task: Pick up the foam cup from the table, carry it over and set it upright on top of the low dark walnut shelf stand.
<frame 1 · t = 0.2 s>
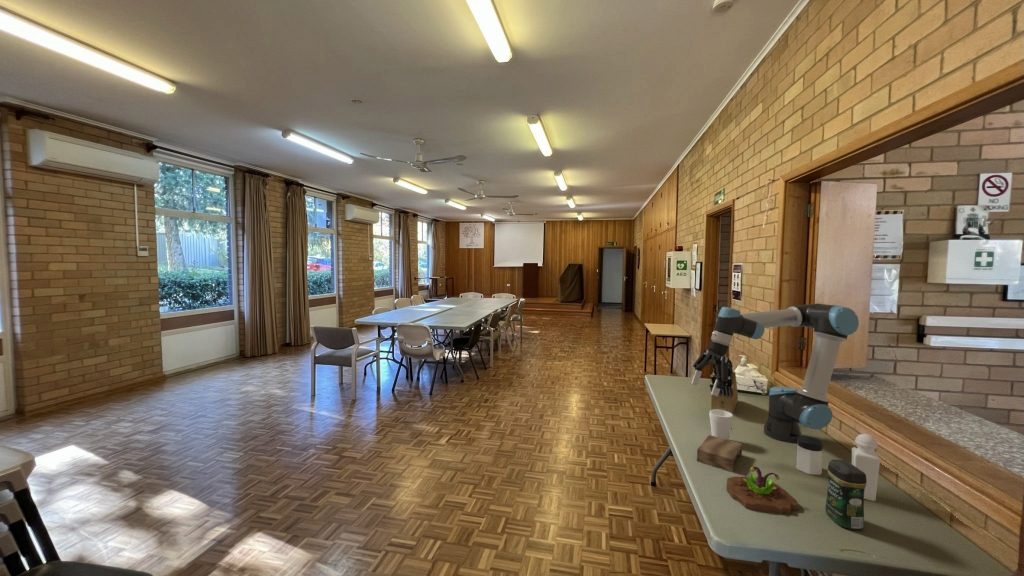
hand: (703, 389, 169), 27 cm above the table, tool tilted 15°, fingers open, 13 cm apart
walnut shelf stand: (719, 458, 165), on the table
foam cup: (719, 441, 182), on the table
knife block: (723, 408, 224), on the table
jar: (808, 470, 156), on the table
coffee jar: (843, 521, 125), on the table
plant: (758, 497, 138), on the table
soap dispenser: (863, 495, 139), on the table
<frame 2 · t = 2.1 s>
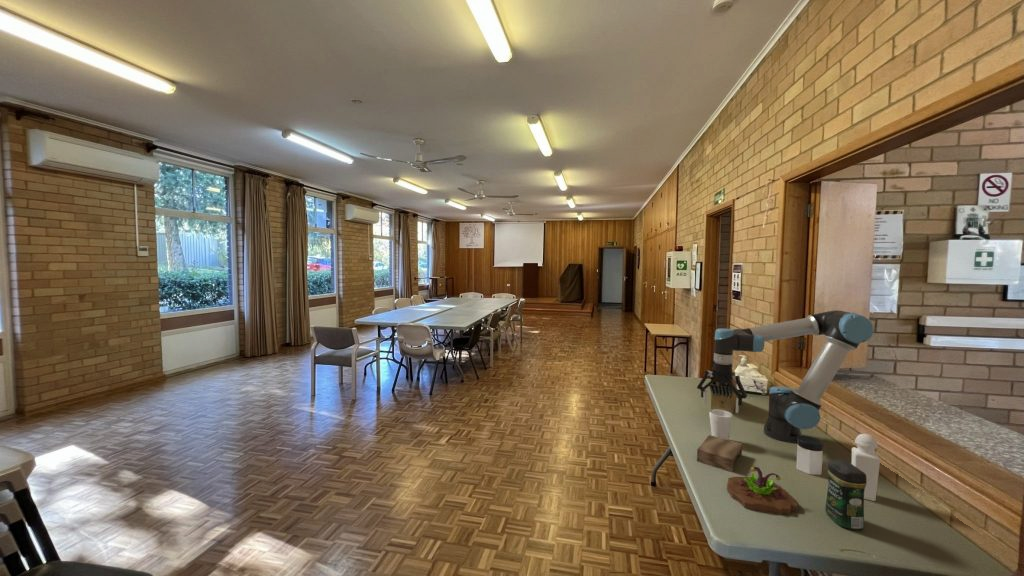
hand: (720, 408, 181), 15 cm above the table, tool pointing down, fingers open, 13 cm apart
nothing on the table moved.
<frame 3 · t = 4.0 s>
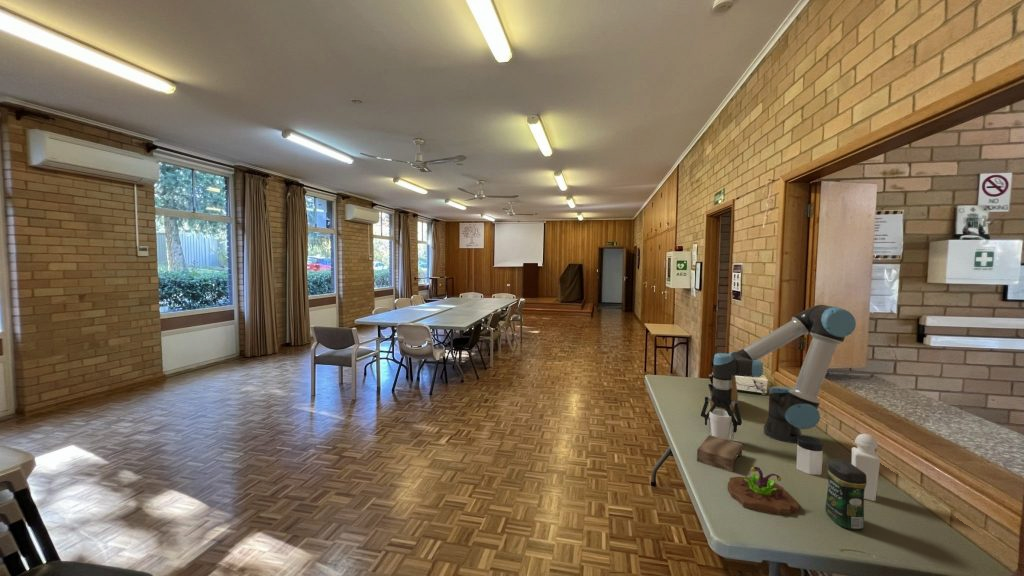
hand: (720, 435, 181), 3 cm above the table, tool pointing down, fingers closed on foam cup, 9 cm apart
foam cup: (719, 441, 182), on the table, touching gripper
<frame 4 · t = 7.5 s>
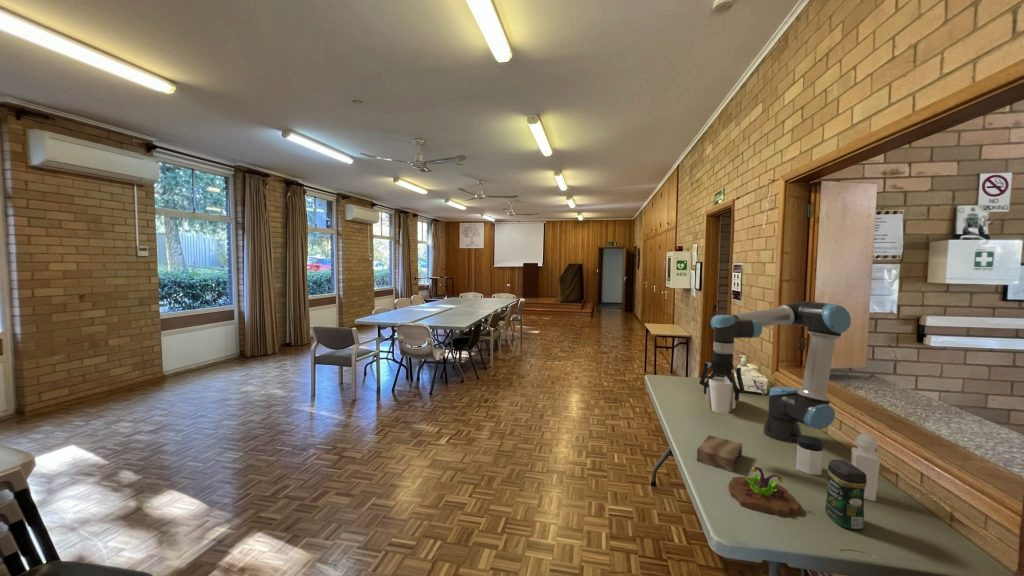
hand: (720, 404, 166), 22 cm above the table, tool pointing down, fingers closed on foam cup, 9 cm apart
foam cup: (720, 411, 166), point 19 cm above the table, touching gripper
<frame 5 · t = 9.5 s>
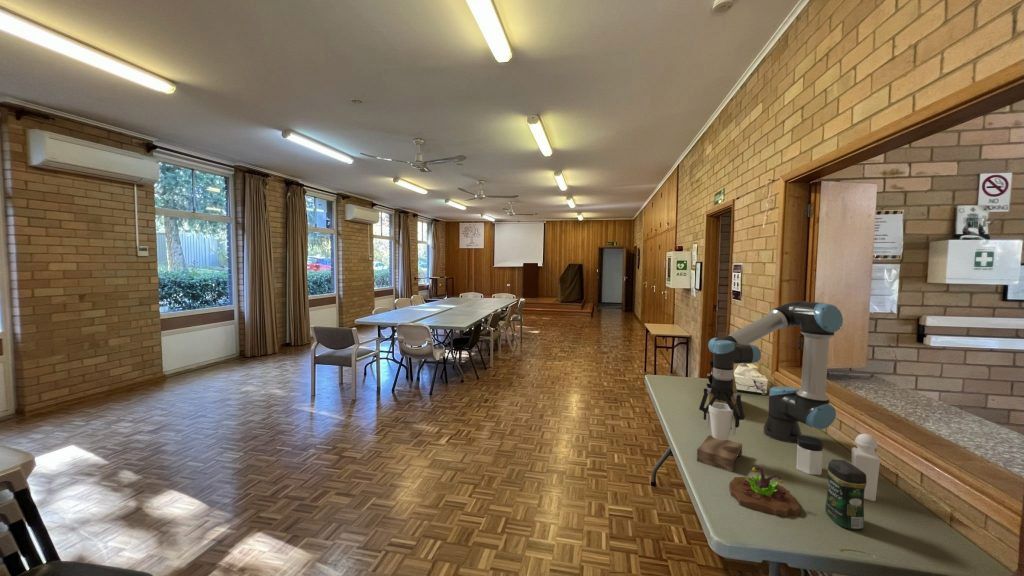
hand: (720, 430, 165), 12 cm above the table, tool pointing down, fingers closed on foam cup, 9 cm apart
foam cup: (720, 437, 165), point 9 cm above the table, touching gripper
when the fingers open (9 cm above the table, at t = 11.0 s): foam cup drops 1 cm, resting on walnut shelf stand.
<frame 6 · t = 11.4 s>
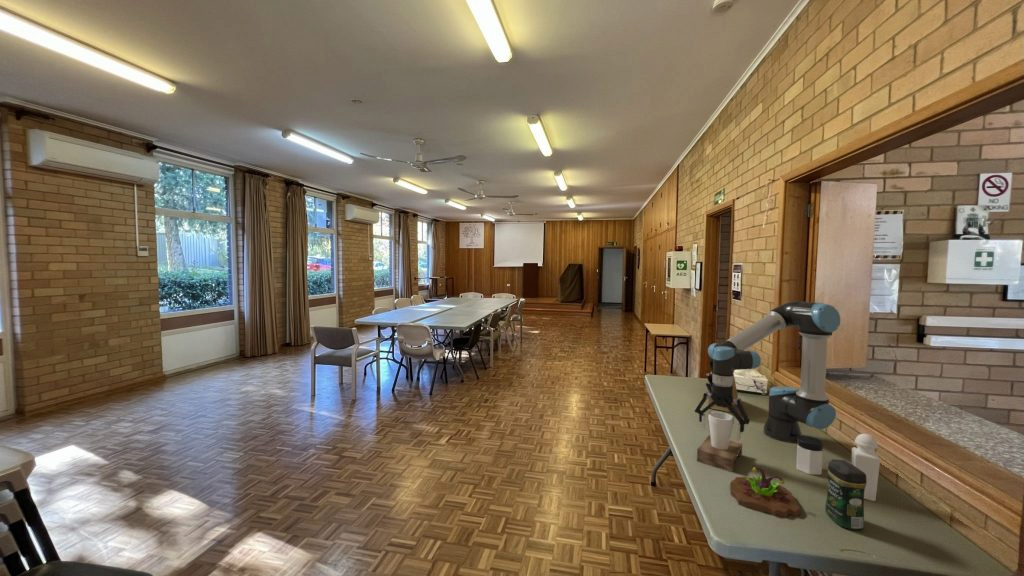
hand: (720, 434, 165), 10 cm above the table, tool pointing down, fingers open, 13 cm apart
foam cup: (719, 446, 165), point 5 cm above the table, touching walnut shelf stand
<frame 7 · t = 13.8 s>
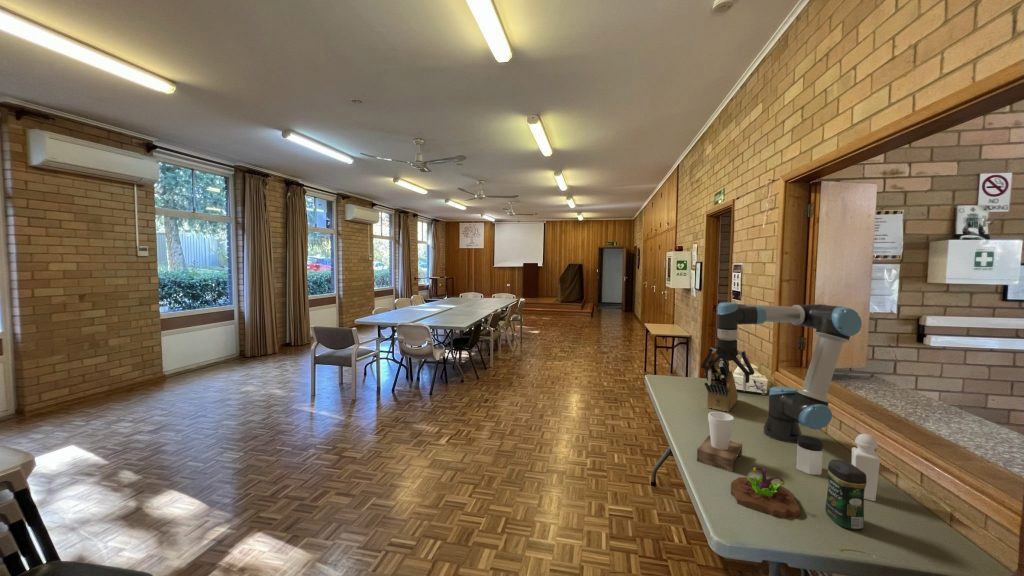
hand: (726, 387, 170), 28 cm above the table, tool pointing down, fingers open, 13 cm apart
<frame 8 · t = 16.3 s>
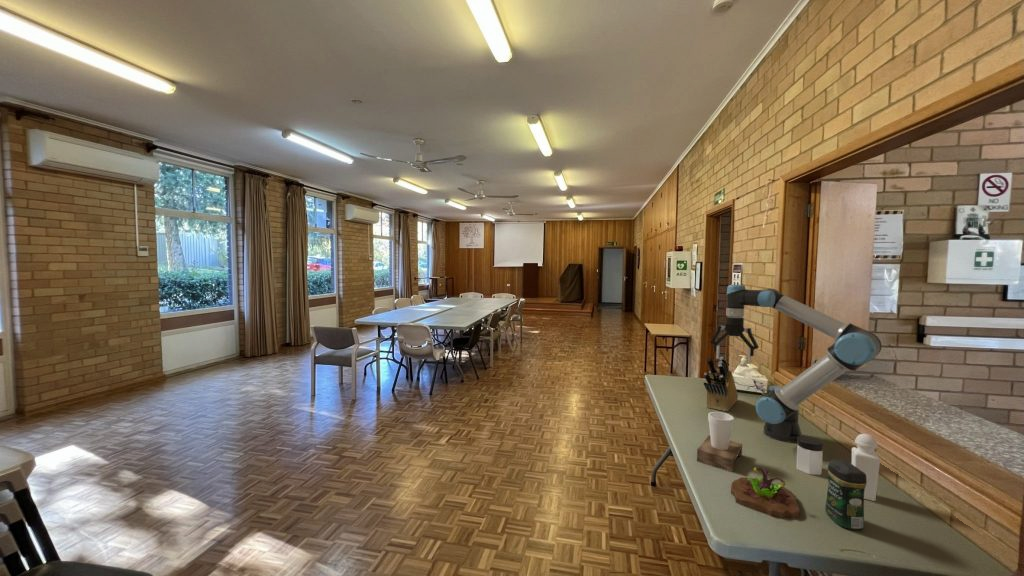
hand: (733, 360, 191), 35 cm above the table, tool pointing down, fingers open, 13 cm apart
at the end: foam cup inside the target area on the walnut shelf stand (0.2 cm from its centre), point 4.8 cm above the walnut shelf stand's base; foam cup tilted 0°; the gripper is holding nothing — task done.
